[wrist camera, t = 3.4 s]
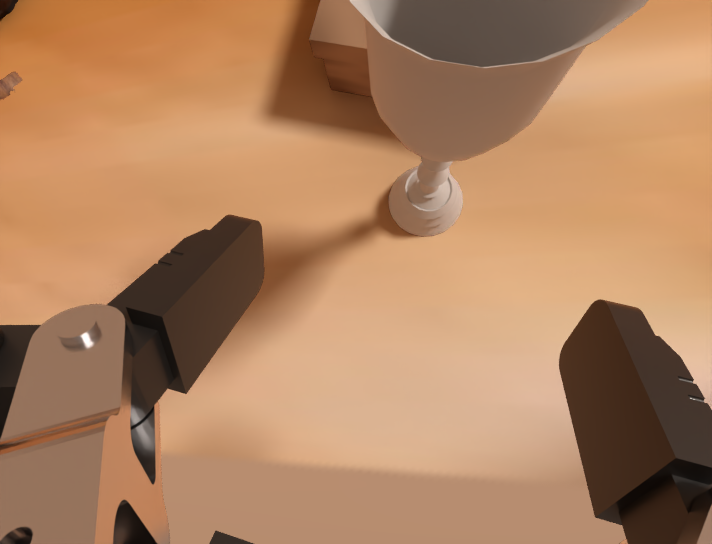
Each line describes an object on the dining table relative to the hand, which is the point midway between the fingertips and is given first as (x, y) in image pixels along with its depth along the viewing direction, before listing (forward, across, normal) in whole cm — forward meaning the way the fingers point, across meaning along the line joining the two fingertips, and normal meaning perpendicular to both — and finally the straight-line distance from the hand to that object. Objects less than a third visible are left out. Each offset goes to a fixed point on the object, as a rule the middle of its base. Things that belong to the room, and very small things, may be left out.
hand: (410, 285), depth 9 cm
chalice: (+17, 0, +6) cm, 18 cm away
